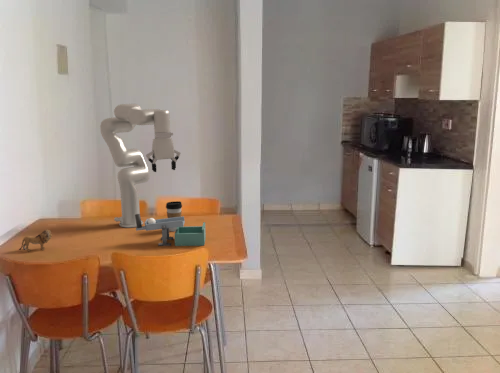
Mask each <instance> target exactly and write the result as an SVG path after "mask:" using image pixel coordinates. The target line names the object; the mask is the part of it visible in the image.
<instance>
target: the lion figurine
mask: <svg viewBox="0 0 500 373" xmlns="http://www.w3.org/2000/svg"><path fill="white" fill-rule="evenodd" d="M52 236H53V235H52V231H51V230H49V229H45V230H43V231H41V232H40V233H38V235H37V236H36V235H35V236H30V235H27V236H25V237H23V239H22V241H21V246H20V248H18V251H21V250H24V249H25V250H26V251H27V252H31V250H32V249H30V248H29V246H30V244H32V245H40V249H41V250H42V251H45V250H46V249H45V246H44V244H47V243H48V241H50V240H51V239H52Z"/></svg>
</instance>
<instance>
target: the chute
mask: <svg viewBox="0 0 500 373" xmlns="http://www.w3.org/2000/svg"><path fill="white" fill-rule="evenodd" d="M135 219H136V225H137V227H135V230H136V232H137V231H143V230H144V231H155V230H162V226H166V228H174V227H184V226H185V216H184V215H183V216H182V215H181V217H174V218H168V217H166V218H165V217H164V218H158V219H155V221H156V223H153V224H148V223H147V221H148V219H149V218H146V220H145V221H144V225H143V224H142V223H141V220H142V218H141V213H140V214H135Z"/></svg>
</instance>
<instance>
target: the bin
mask: <svg viewBox="0 0 500 373" xmlns="http://www.w3.org/2000/svg"><path fill="white" fill-rule="evenodd" d="M206 232H207V231H206V222H203V223H202V225H198V226H195V225H194V226H191V225H190V226H188V225H187V226H185V225H184V226H183V227H177V229H176V231H174V235H173V236H174V246H175V247H189V246H190V247H194V246H195V247H197V246H198V247H199V246H201V247H202V246H205V244H206V239H207V238H206V235H207V234H206Z"/></svg>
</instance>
